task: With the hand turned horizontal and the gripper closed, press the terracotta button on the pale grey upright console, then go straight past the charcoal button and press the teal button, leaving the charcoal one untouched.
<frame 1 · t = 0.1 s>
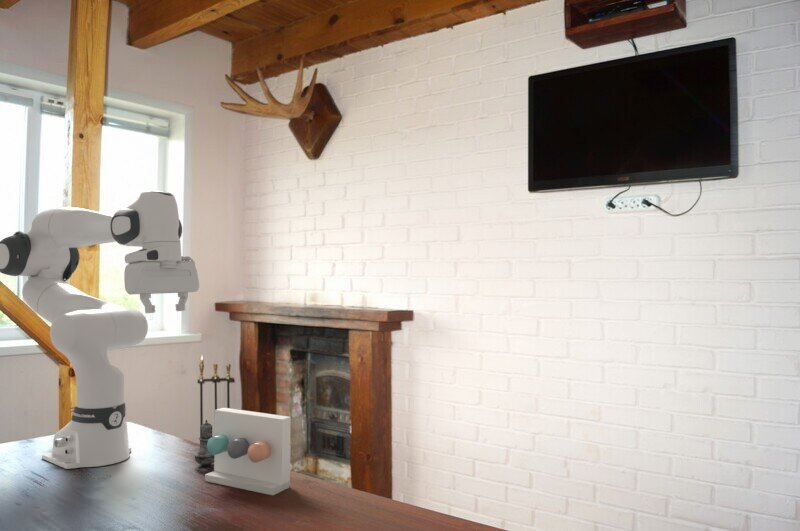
hand: (165, 312, 153), 39 cm above the table, tool pointing down, fingers open, 8 cm apart
teal button: (218, 444, 145), point 9 cm above the table, slide at 0.0 cm
terracotta button: (259, 451, 139), point 9 cm above the table, slide at 0.0 cm
grey stone chess piece: (205, 468, 156), on the table
charcoal button: (238, 448, 142), point 9 cm above the table, slide at 0.0 cm
console: (251, 482, 146), on the table
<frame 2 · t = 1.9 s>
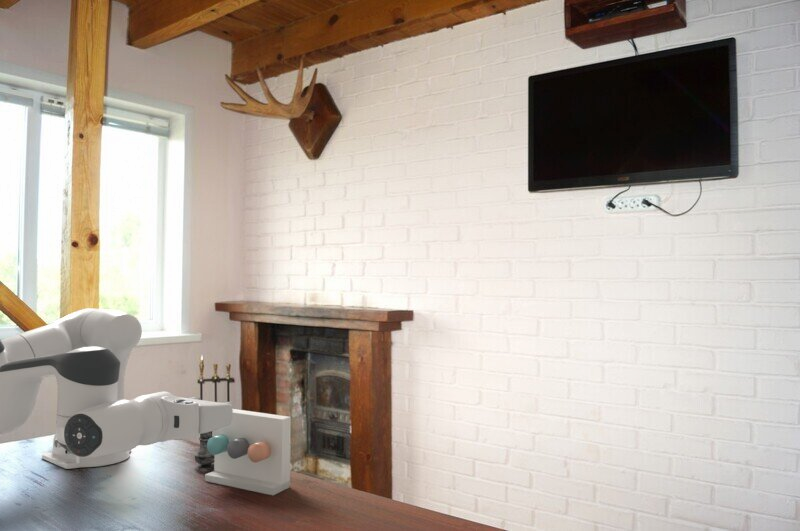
hand: (213, 403, 127), 22 cm above the table, tool horizontal, fingers open, 7 cm apart
nothing on the table moved.
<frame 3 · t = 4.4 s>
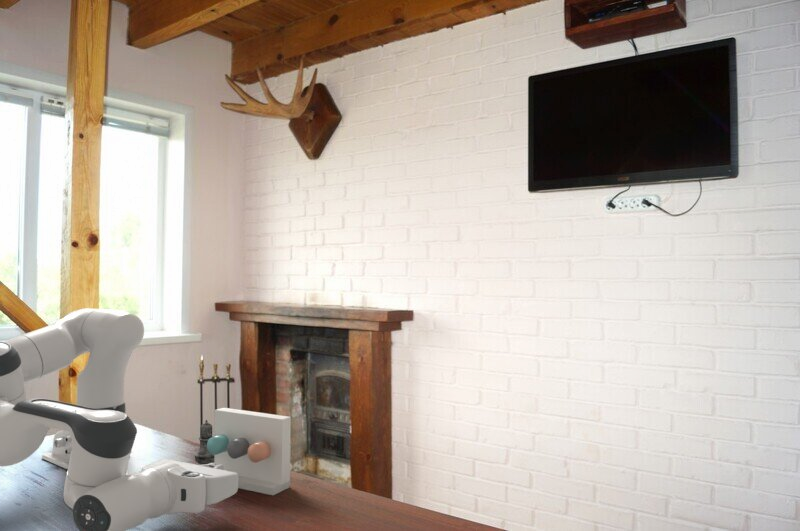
hand: (218, 467, 128), 9 cm above the table, tool horizontal, fingers closed
nothing on the table moved.
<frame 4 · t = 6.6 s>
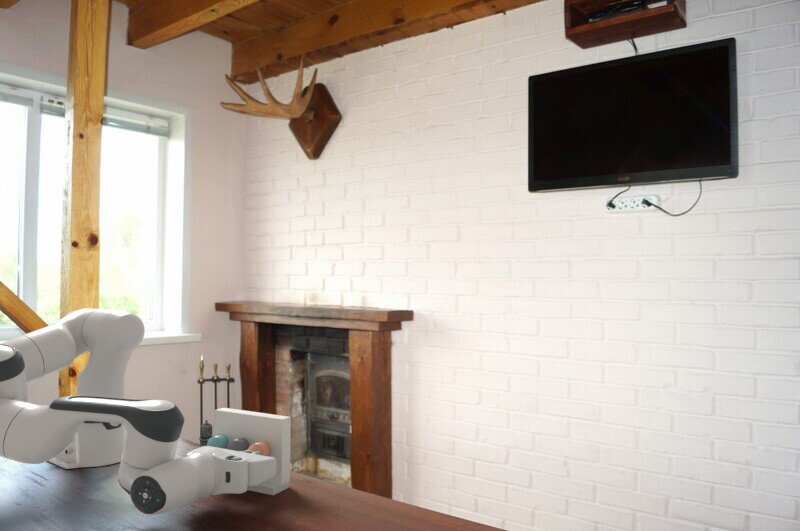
hand: (255, 453, 138), 9 cm above the table, tool horizontal, fingers closed, pressing on terracotta button
terracotta button: (259, 451, 139), point 9 cm above the table, slide at 0.0 cm, touching gripper
everything else where it was.
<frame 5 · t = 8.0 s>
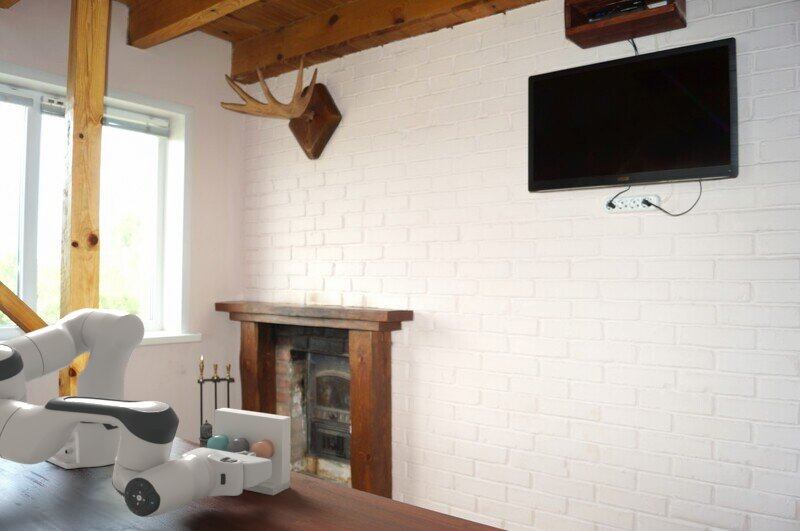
hand: (250, 455, 137), 9 cm above the table, tool horizontal, fingers closed
terracotta button: (262, 450, 140), point 9 cm above the table, slide at 1.1 cm
everything else where it was.
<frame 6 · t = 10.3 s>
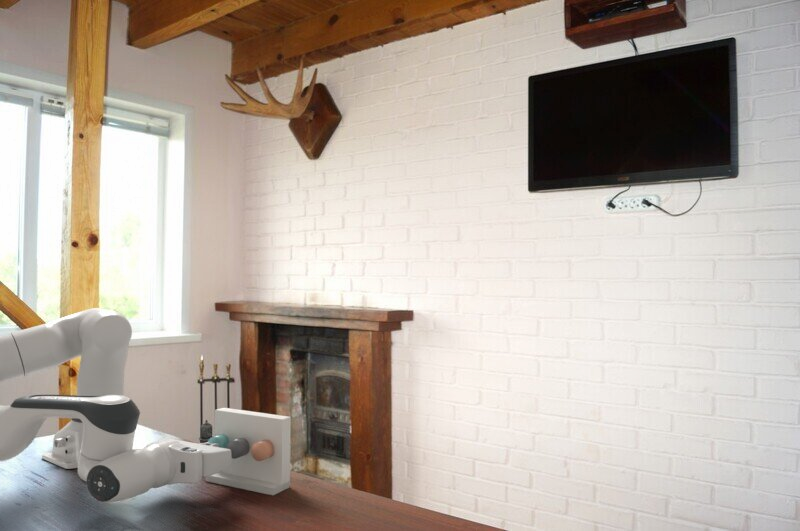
hand: (214, 446, 144), 9 cm above the table, tool horizontal, fingers closed, pressing on teal button
teal button: (218, 444, 145), point 9 cm above the table, slide at 0.2 cm, touching gripper
everything else where it was.
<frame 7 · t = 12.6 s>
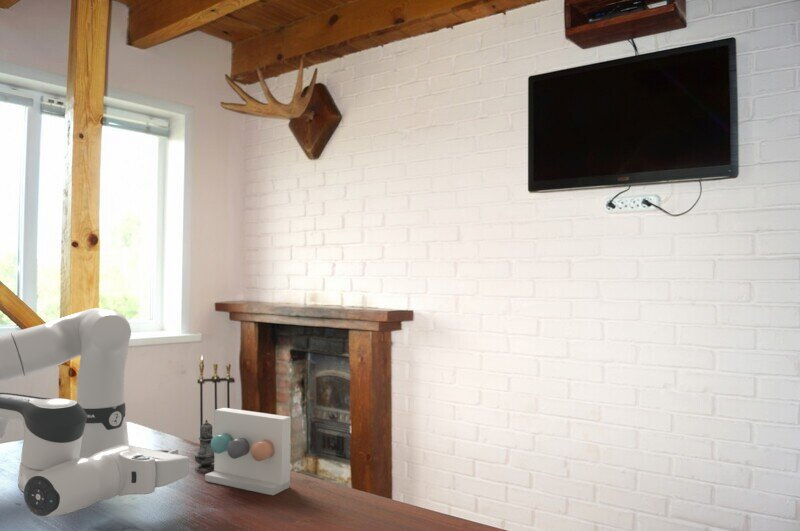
hand: (173, 452, 133), 10 cm above the table, tool horizontal, fingers closed
teal button: (221, 443, 146), point 9 cm above the table, slide at 1.2 cm
everything else where it was.
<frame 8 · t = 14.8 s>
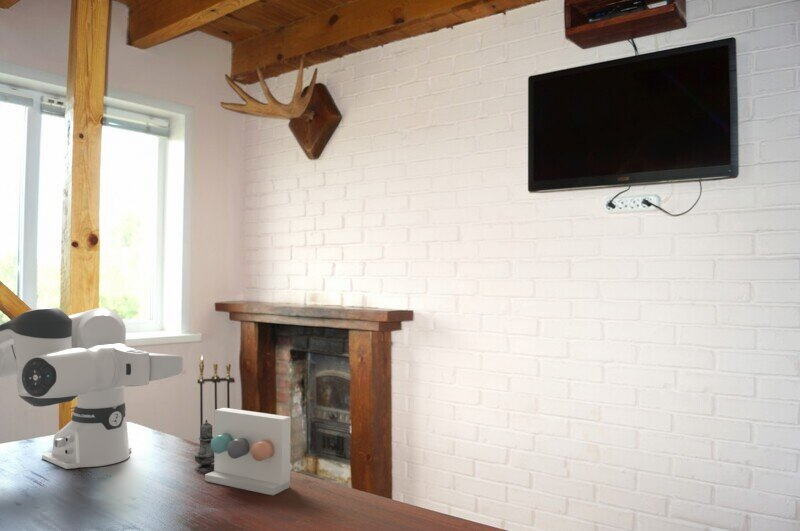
hand: (167, 358, 137), 30 cm above the table, tool horizontal, fingers closed
nothing on the table moved.
at the end: terracotta button slide at 1.1 cm; teal button slide at 1.2 cm; charcoal button slide at 0.0 cm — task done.
